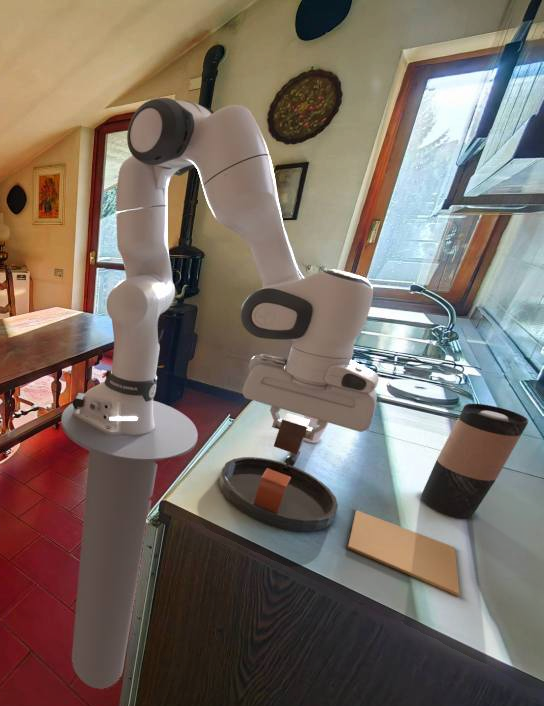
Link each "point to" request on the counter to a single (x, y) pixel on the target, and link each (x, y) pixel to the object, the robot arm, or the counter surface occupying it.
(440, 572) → the mat
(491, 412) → the travel mug
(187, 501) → the counter surface
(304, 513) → the pan
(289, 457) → the pan handle
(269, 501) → the terracotta block
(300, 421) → the walnut block
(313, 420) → the smoothie
